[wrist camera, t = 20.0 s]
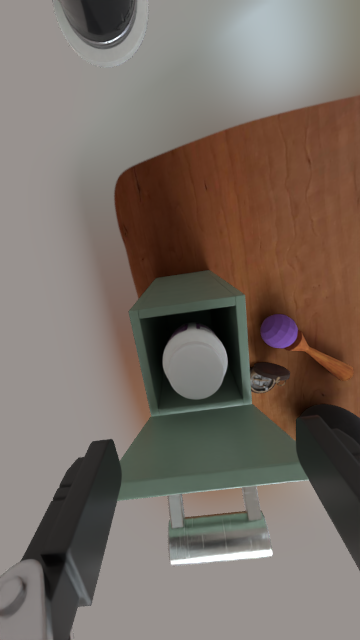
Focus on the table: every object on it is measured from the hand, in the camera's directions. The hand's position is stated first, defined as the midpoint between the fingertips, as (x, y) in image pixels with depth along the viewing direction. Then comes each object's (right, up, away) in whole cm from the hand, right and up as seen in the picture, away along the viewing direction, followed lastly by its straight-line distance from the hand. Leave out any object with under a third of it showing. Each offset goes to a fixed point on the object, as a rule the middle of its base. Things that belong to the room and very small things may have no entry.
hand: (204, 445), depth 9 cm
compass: (+16, -6, +37) cm, 41 cm away
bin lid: (+1, -3, +7) cm, 7 cm away
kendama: (+22, 0, +36) cm, 42 cm away
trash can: (0, +8, +33) cm, 34 cm away
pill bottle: (+1, +2, +17) cm, 17 cm away
